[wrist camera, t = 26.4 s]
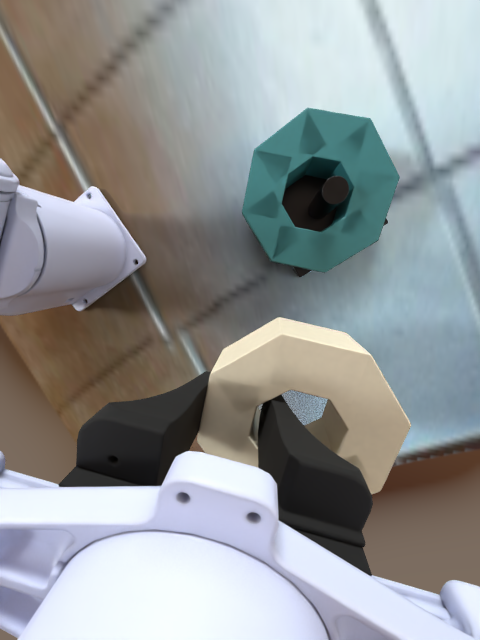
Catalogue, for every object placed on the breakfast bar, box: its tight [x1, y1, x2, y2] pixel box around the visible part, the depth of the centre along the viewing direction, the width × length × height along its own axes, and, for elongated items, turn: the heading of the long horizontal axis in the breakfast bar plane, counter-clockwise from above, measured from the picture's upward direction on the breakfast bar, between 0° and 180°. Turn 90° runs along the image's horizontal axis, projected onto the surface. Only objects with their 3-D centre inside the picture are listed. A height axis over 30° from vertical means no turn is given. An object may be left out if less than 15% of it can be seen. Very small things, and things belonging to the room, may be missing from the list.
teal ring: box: [242, 108, 400, 272], centre depth 18 cm, size 10×10×3 cm
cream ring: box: [197, 317, 411, 494], centre depth 13 cm, size 10×10×3 cm
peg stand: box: [282, 175, 388, 277], centre depth 17 cm, size 8×8×6 cm
